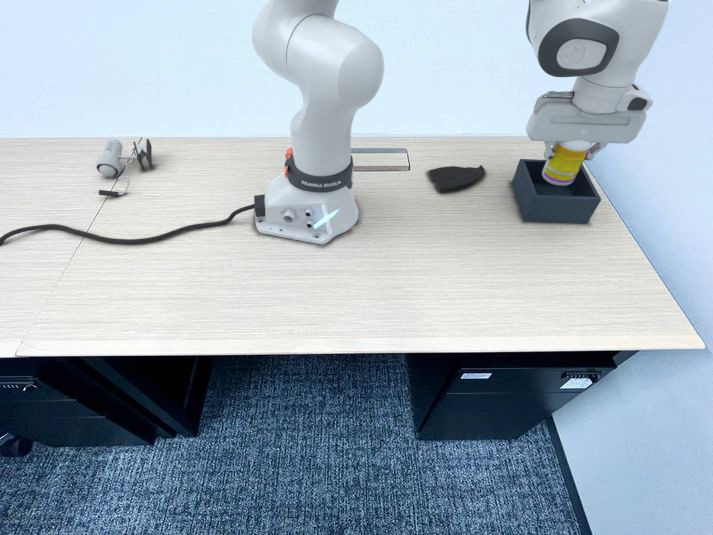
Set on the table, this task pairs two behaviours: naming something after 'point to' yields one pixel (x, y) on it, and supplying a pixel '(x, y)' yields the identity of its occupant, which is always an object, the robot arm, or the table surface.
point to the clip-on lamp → (111, 164)
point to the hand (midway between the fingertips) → (567, 158)
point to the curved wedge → (455, 177)
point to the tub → (553, 195)
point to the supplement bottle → (566, 161)
